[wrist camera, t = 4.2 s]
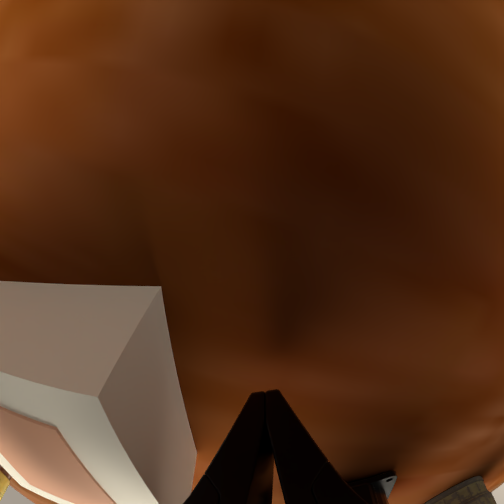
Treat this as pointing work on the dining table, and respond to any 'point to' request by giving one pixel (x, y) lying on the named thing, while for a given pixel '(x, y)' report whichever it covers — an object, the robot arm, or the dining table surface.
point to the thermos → (465, 493)
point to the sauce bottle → (4, 481)
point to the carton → (92, 395)
